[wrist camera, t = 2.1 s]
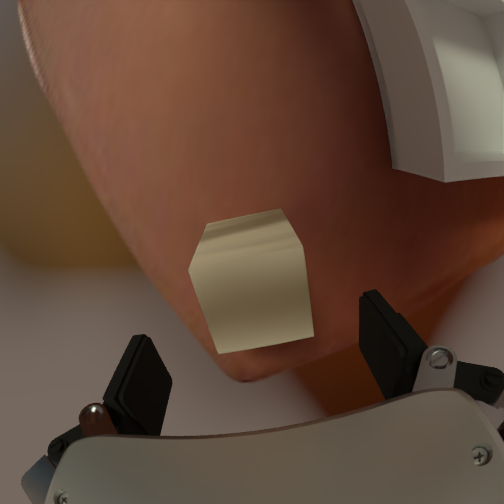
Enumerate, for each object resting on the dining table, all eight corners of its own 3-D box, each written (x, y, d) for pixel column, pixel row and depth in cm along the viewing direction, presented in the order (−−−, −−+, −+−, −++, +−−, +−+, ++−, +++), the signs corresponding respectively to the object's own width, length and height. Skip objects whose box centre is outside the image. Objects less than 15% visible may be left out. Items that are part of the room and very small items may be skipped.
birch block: (207, 223, 18) (188, 270, 12) (281, 208, 18) (303, 246, 11) (224, 288, 20) (218, 353, 14) (292, 274, 20) (313, 336, 13)
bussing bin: (341, -23, 11) (370, -62, 5) (477, 14, 10) (514, 3, 5) (392, 168, 17) (444, 182, 11) (509, 160, 16) (552, 172, 11)
